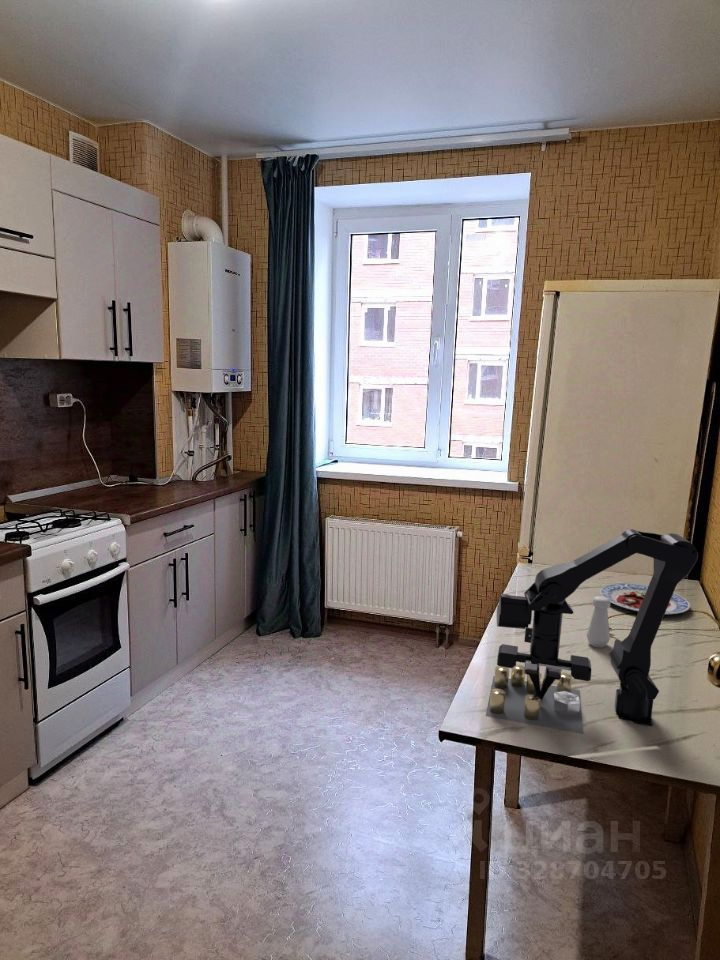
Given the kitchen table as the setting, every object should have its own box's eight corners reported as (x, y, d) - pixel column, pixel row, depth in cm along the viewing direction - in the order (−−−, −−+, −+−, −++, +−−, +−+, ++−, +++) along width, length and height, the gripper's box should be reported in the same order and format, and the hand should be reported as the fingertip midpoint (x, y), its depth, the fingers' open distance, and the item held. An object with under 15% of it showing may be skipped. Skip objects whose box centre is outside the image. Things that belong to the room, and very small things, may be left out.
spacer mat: (579, 692, 140) (579, 690, 140) (583, 735, 123) (583, 733, 123) (493, 677, 145) (493, 676, 145) (485, 717, 128) (485, 715, 128)
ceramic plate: (687, 627, 179) (688, 617, 179) (593, 608, 192) (593, 599, 191) (691, 600, 201) (692, 591, 201) (606, 584, 214) (607, 576, 213)
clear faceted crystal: (570, 700, 135) (570, 690, 135) (584, 712, 131) (585, 701, 130) (547, 703, 134) (547, 693, 133) (561, 716, 129) (562, 705, 128)
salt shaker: (590, 637, 169) (594, 592, 167) (611, 644, 166) (616, 597, 163) (582, 644, 165) (587, 597, 163) (604, 651, 161) (609, 603, 159)
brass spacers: (570, 689, 140) (572, 673, 139) (572, 727, 125) (574, 709, 124) (495, 677, 145) (496, 661, 144) (488, 712, 130) (490, 694, 129)
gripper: (591, 622, 135) (584, 689, 138) (503, 610, 141) (498, 674, 143) (594, 643, 125) (586, 715, 128) (499, 628, 130) (494, 698, 133)
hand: (539, 699), depth 133 cm, fingers closed
